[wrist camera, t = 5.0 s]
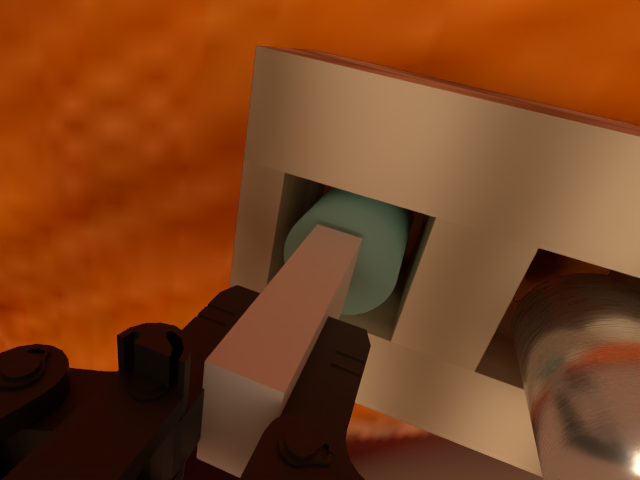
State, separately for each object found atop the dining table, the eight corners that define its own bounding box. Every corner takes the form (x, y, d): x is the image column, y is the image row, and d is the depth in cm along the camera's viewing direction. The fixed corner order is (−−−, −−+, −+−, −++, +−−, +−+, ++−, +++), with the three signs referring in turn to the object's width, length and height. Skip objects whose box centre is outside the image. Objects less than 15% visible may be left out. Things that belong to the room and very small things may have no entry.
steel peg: (492, 351, 14) (513, 512, 9) (543, 256, 12) (604, 391, 7) (612, 393, 13) (708, 593, 8) (684, 298, 12) (863, 481, 7)
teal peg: (321, 233, 20) (276, 292, 15) (339, 156, 18) (293, 193, 13) (399, 258, 19) (380, 330, 14) (426, 180, 17) (414, 229, 12)
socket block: (276, 282, 22) (222, 349, 17) (317, 50, 17) (256, 45, 12) (576, 388, 19) (620, 508, 14) (742, 149, 14) (915, 202, 9)
